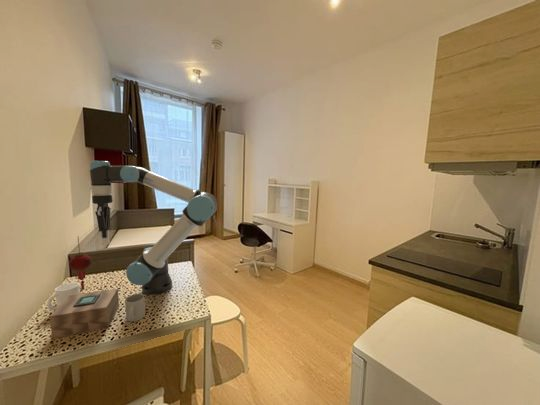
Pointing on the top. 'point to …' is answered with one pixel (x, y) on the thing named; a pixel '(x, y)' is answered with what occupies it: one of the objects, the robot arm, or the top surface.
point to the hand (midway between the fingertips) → (106, 243)
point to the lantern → (80, 265)
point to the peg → (87, 299)
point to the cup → (135, 307)
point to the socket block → (84, 313)
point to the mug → (63, 294)
